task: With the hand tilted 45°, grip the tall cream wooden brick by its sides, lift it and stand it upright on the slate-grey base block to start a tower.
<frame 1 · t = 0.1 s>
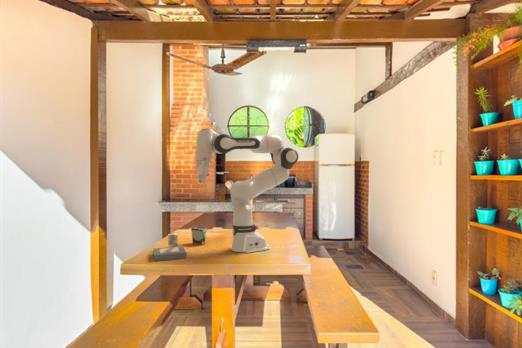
hand: (201, 183, 187), 39 cm above the table, tool pointing down, fingers open, 8 cm apart
food container: (201, 243, 214), on the table
base block: (169, 255, 184), on the table
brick: (173, 249, 198), on the table
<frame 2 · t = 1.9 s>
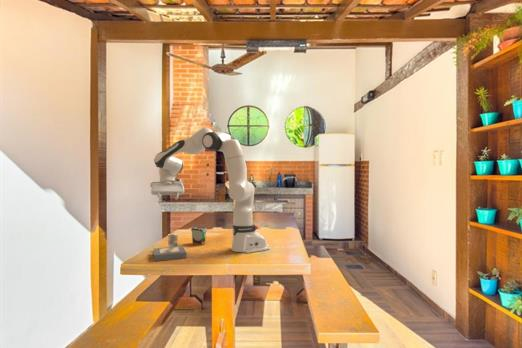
hand: (168, 199, 210), 28 cm above the table, tool tilted 45°, fingers open, 8 cm apart
nothing on the table moved.
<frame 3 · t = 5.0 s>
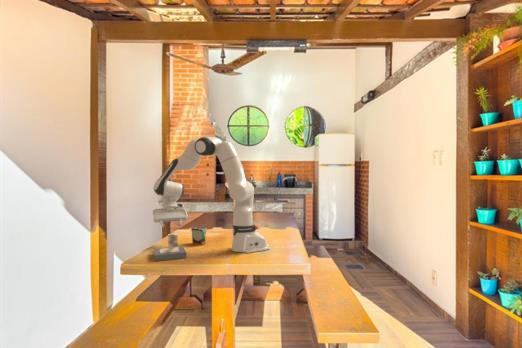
hand: (171, 226, 206), 12 cm above the table, tool tilted 45°, fingers open, 8 cm apart
nothing on the table moved.
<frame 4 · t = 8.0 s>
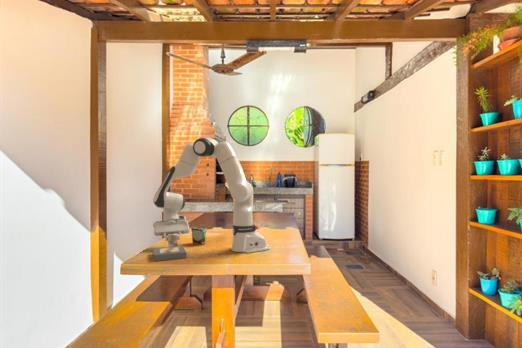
hand: (172, 239, 198), 6 cm above the table, tool tilted 45°, fingers closed on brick, 5 cm apart
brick: (173, 249, 198), on the table, touching gripper
everything else where it was.
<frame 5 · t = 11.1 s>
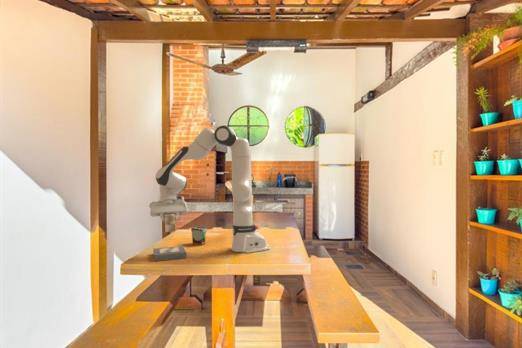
hand: (169, 220, 187), 19 cm above the table, tool tilted 45°, fingers closed on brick, 5 cm apart
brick: (170, 231, 188), point 13 cm above the table, touching gripper
everything else where it was.
when the fingers open (10 cm above the table, at t = 14.3 s): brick drops 1 cm, resting on base block.
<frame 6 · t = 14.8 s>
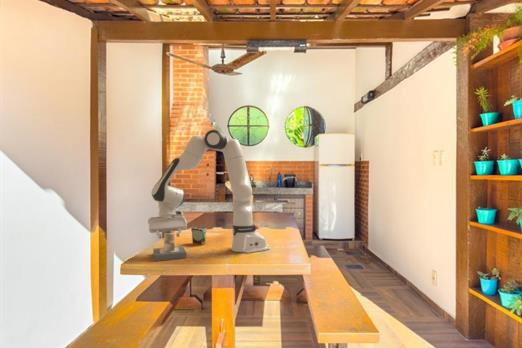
hand: (169, 237, 183), 10 cm above the table, tool tilted 45°, fingers open, 8 cm apart
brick: (169, 250, 184), point 3 cm above the table, touching base block
everything else where it was.
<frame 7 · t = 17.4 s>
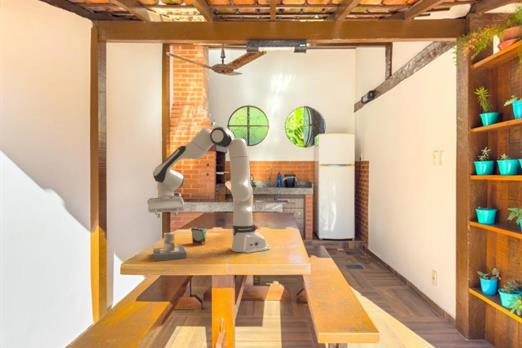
hand: (167, 216, 192), 20 cm above the table, tool tilted 45°, fingers open, 8 cm apart
nothing on the table moved.
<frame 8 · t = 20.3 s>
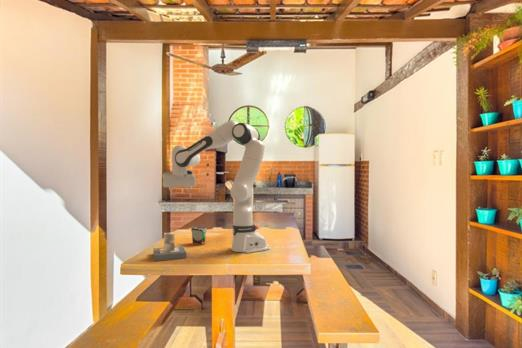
hand: (179, 194, 213), 31 cm above the table, tool pointing down, fingers open, 8 cm apart
nothing on the table moved.
at the end: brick 0.1 cm off-centre on the base block, point 3.2 cm above the base block's base; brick tilted 0°; the gripper is holding nothing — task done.
